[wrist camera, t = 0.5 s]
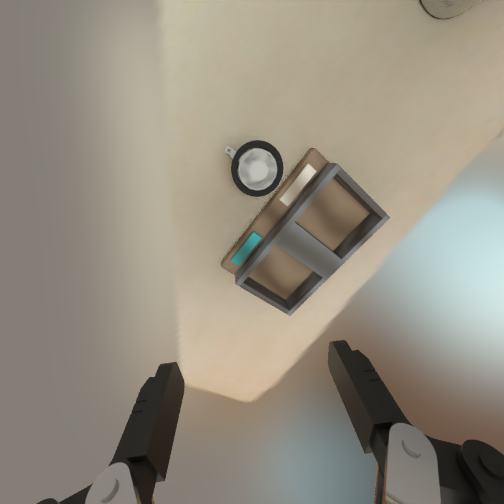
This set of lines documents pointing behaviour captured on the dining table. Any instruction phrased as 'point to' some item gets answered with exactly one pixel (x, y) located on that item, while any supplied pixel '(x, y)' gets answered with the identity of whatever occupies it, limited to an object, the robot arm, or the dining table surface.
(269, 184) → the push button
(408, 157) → the dining table surface
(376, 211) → the dock
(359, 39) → the dining table surface
